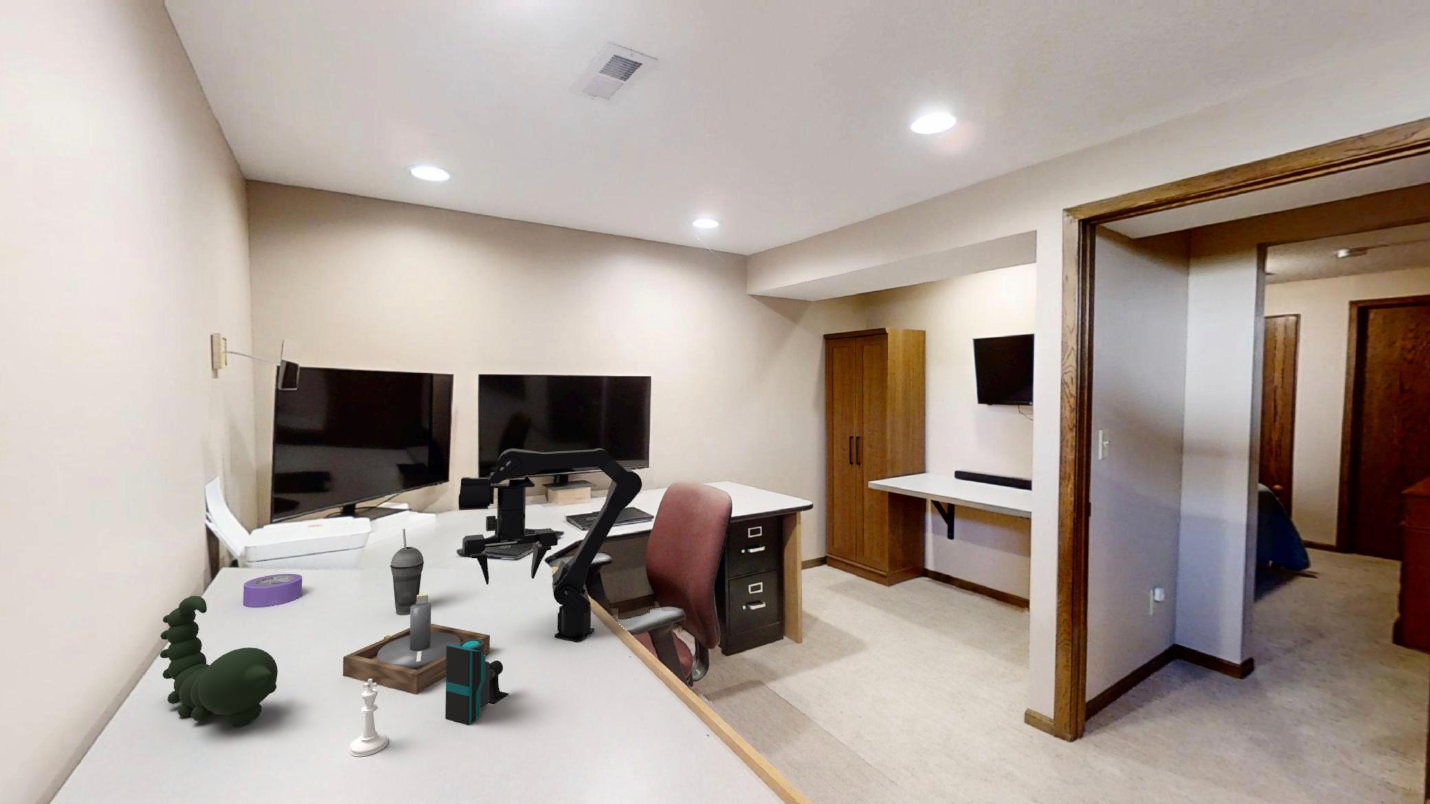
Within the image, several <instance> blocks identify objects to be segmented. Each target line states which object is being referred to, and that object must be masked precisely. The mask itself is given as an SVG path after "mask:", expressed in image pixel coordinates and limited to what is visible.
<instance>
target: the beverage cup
mask: <svg viewBox="0 0 1430 804" xmlns="http://www.w3.org/2000/svg"><path fill="white" fill-rule="evenodd" d="M406 538H407V537H406V529H405V528H402V539H403V548H400V549H398V550H397V551H396V552H395V554H393V556H392V559H391V561H390V564H389V565H390V566H389V568H390V570H391V575H392V583H393V584H392V585H393V596H394V607H395V614H396V615H398V616H408V615H410V607H411V606H413V605H415V604H416V602H417V595H420V589H421V583H422V582H421V580H422V572H423V569H424V564H425V561H424V556H423V554H422V552H421V551H420V550H419V549H418V548H416V547H414V546H407V539H406Z"/></svg>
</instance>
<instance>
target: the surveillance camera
mask: <svg viewBox="0 0 1430 804" xmlns="http://www.w3.org/2000/svg"><path fill="white" fill-rule="evenodd" d="M503 670H504V665H503V663H502V662H501V661H500V660H493V661H491V662H489V661H487V660H486V655H484V641H483V640H481V639H470V640H466V641H463V642H461V643H460V644H459V646H457V645H453V644H448V645H446V678H445V706H444V707H445V713H444V714H445V716H444V718H445V720H447V721H452V722H454V723H458V724H460V725H461V724H462V725H464V726H471V725H472V724H473V723H475V721H477V719H478V718H479V717H480V716H481V710H482V709H483V708H485V707H486V706H488V705H489V704H490V705H494V706H495V705H496V704H497V703H499V702H500V701H501V700H503V699H505V698H506V697H507V696H508V695H509V692H506V691H502V690H501V689H500V685H499V675H501V674H502V672H503Z"/></svg>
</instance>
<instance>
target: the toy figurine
mask: <svg viewBox="0 0 1430 804" xmlns="http://www.w3.org/2000/svg"><path fill="white" fill-rule="evenodd" d="M196 611H198V612H199V613H201V614H205V613H207V611H208V607H207V602H206V601H205V598H203V597H202V596H198V595H190V596H188V597H185V598H184V599H182V600H181V601H180V602H179V605H178V607H177V608H174V609H173V610H171V612H170V613H169V614H166V615H164V616H163V618H162V622H164V623H165V624H167V625H168V626H169V628H167V630H164V631H163V632H161V634H160V638H161V640H166V641H167V642H169V643H170V644H169V645H168V648H166V649H165V648H164V649H163V650H161V651H160V654H159V657H160V658H161V659H168V660H169V661H170V663H169V664H168V667H167V668H166V669H164V670H163V673H162V678H163V679H165V680H170V679H172V680H174V681H173V691H171V693H169V694H168V696H167V702H168V704H171V705H175V704H179V703H181V705H179V708H178V710H177V714H178V716H179V717H182V718H183V717H184V718H186V717H189V716H191V718H192V719H193V721H196V722H202V721H205V720H207V719H208V718H209V717H210V716H212V715H213V713H214V714H216V715H221V716H226V721H227V724H228V725H229V726H230V727H234V728H236V727H242V726H244V725H247V724H250V723H251V722H253V721H255V720H256V719H257V718H258V717H259V716H260V714H261V713H262V708H263V707H262V705H261V702H262V701H264V700H265V699H266V698H267V697H268V696H270V695H271V694H272V693H275V691H276V690H277V688H278V687H277V686H278V685H277V680H278V672H279V671H278V670H279V669H278V665H277V662H276V660H275V659H274V657H273V656H272V655H271V654H270V653H268V652H267V651H265V650H263V649H261V648H258V647H242V648H238V649H237V648H236V649H233V650H230V651H228V652H226V653H224V654H223V655H220V656H219V657H218V658H216V659H215V660H214V661H212V662H211V663H210V664H208V663H207V662H208V661H207V657H206V655H205V654H204V653H203V652H202V649H203V643H202V640H201V638H199V636H198V634H199V631H200V627H199V624H198V622H196V621H195V620H196V616H197V614H196Z"/></svg>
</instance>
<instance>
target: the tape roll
mask: <svg viewBox="0 0 1430 804" xmlns="http://www.w3.org/2000/svg"><path fill="white" fill-rule="evenodd" d="M242 593H243V596H242V597H243V598H242V605H243V606H244V607H247V608H256V609H257V608H259V609H260V608H269V607H275V605H276V606H280V605H284V604H288V603H292V602H294V601H296V599H297V600H298V599H300V598H301V597H302V593H303V576H302V575H301V574H298V573H297V574H296V573H281V574H279V573H277V574H272V575H271V574H270V575H264V576H259V577H256V578H252V579H250V580H248V581H246V582H244V583H243V591H242ZM291 601H292V602H291Z"/></svg>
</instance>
